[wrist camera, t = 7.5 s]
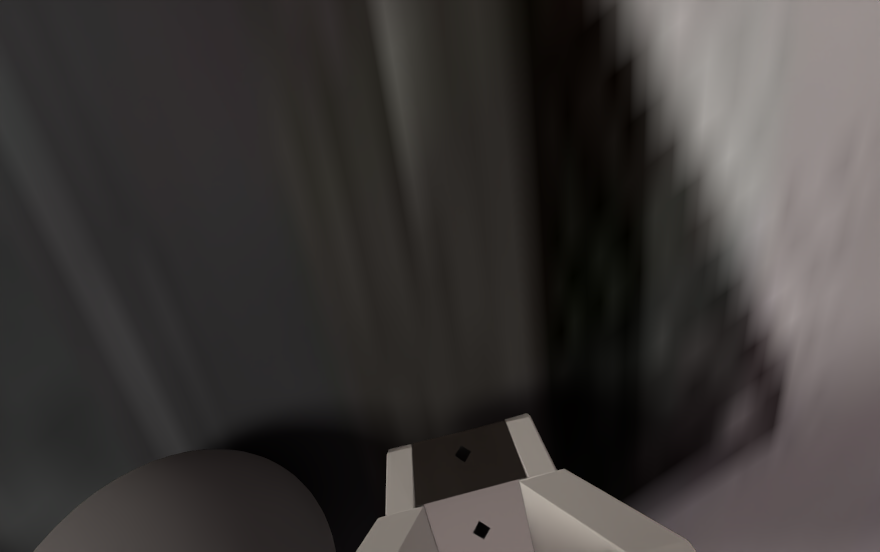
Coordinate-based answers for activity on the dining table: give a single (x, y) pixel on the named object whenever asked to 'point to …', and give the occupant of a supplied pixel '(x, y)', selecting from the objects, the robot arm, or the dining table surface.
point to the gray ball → (197, 509)
